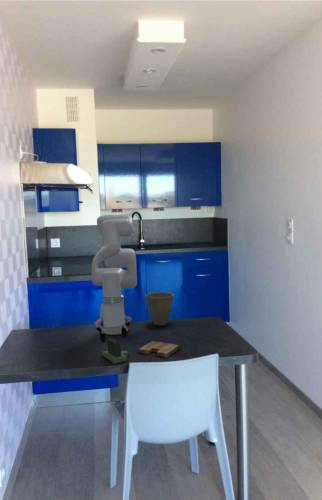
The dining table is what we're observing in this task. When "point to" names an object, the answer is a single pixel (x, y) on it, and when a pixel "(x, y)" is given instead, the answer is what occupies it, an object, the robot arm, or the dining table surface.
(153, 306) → the plant pot
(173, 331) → the dining table surface
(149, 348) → the notched brown wooden block
